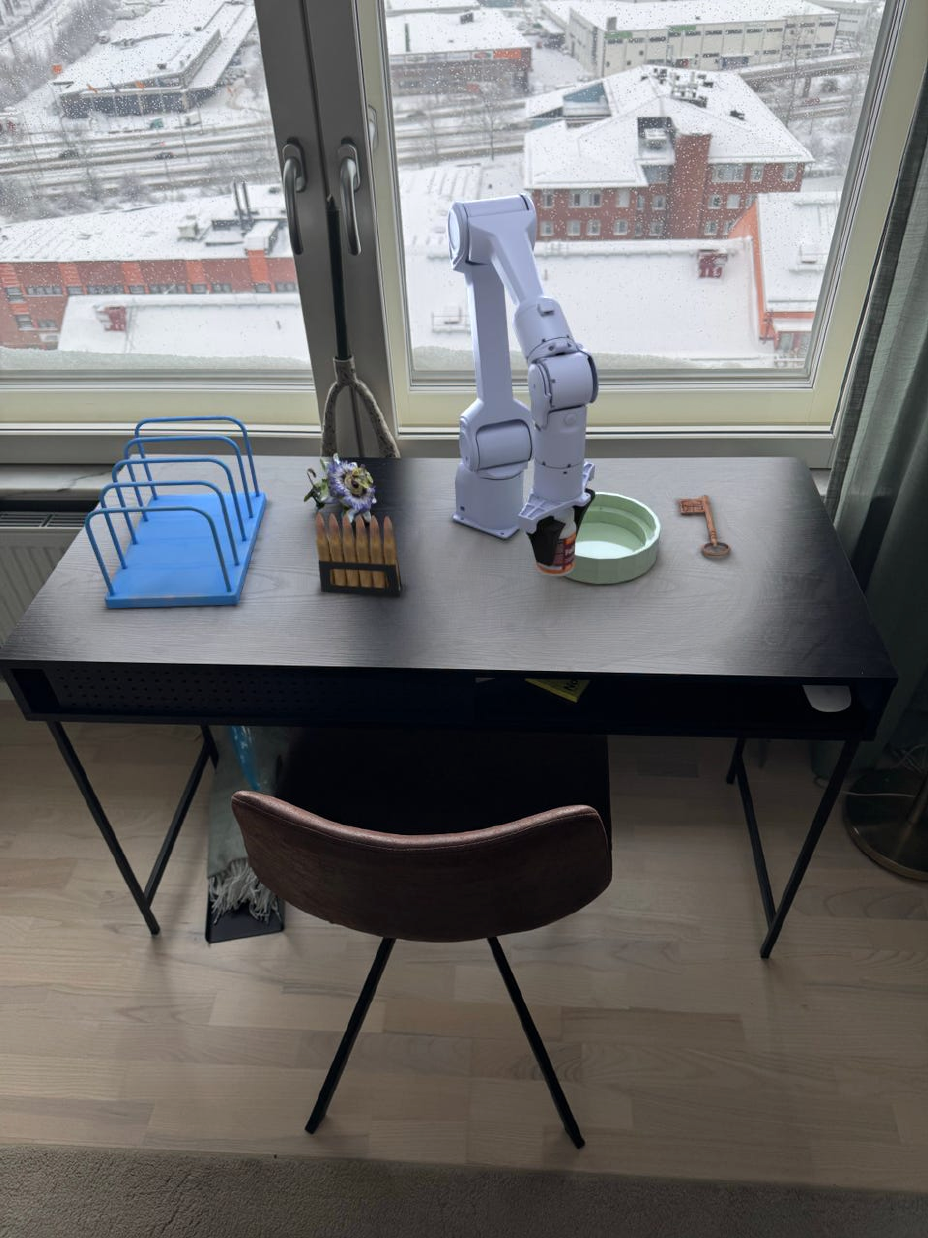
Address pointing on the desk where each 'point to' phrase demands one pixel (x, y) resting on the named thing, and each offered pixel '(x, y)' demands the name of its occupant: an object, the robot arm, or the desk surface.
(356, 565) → the ammunition clip
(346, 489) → the passion flower
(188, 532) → the file sorter
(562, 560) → the pill bottle
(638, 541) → the bowl
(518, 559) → the desk surface
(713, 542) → the key
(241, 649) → the desk surface
